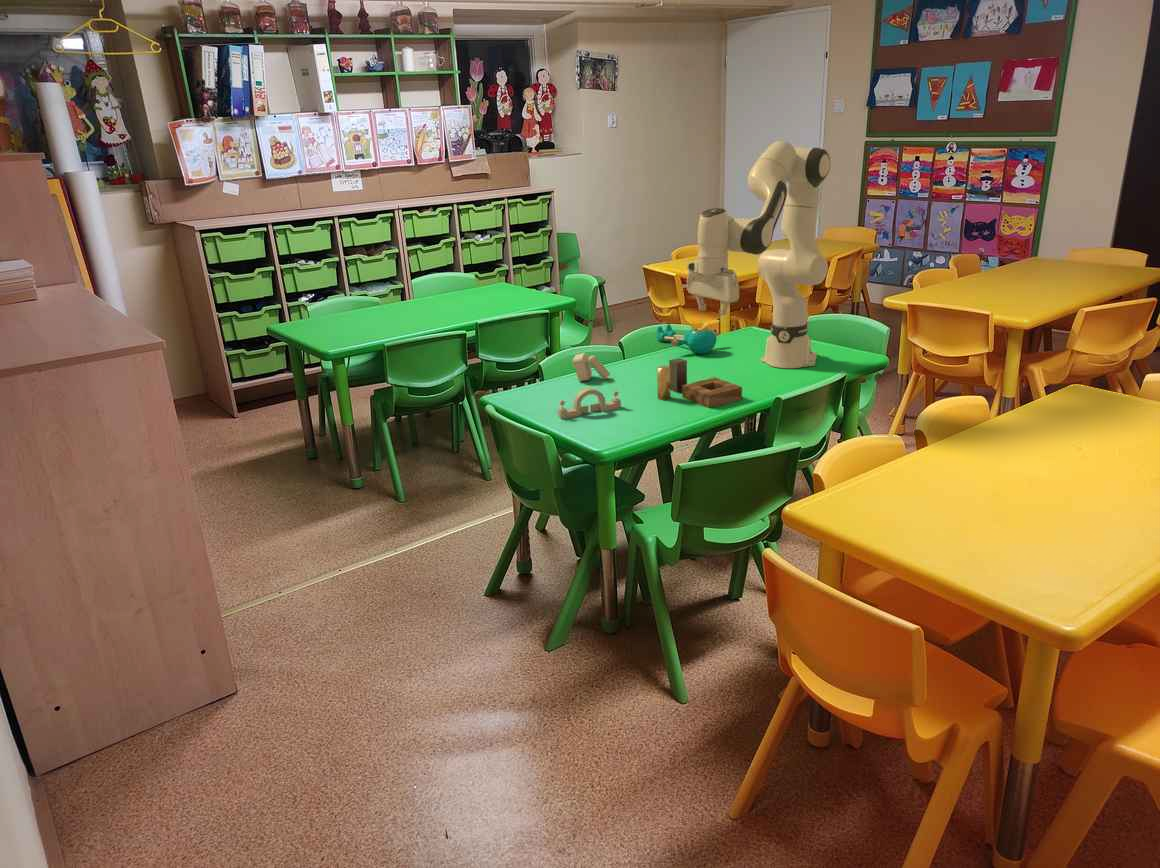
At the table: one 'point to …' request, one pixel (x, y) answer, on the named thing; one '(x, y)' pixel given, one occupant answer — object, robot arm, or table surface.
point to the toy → (690, 338)
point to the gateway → (584, 409)
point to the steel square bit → (678, 374)
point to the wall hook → (588, 367)
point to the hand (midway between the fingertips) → (712, 312)
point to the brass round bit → (663, 382)
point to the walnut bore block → (712, 392)
